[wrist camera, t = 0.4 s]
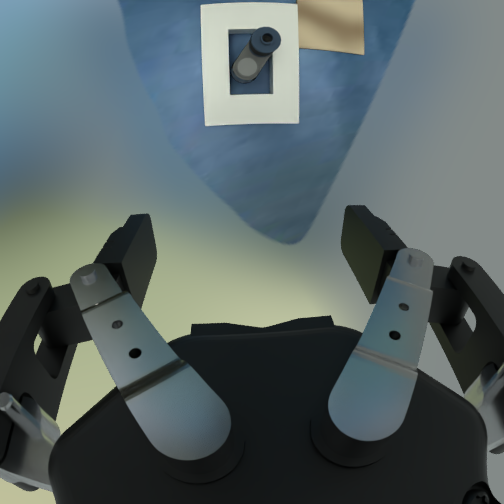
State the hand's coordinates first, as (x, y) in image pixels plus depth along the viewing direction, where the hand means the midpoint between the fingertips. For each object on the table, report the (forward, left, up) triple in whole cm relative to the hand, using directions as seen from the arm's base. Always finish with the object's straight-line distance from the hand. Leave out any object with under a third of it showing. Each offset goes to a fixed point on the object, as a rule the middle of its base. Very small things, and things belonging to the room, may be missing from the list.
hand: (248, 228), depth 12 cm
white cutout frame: (-8, +2, -25) cm, 26 cm away
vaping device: (-8, +2, -25) cm, 27 cm away
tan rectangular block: (-14, +11, -25) cm, 31 cm away
